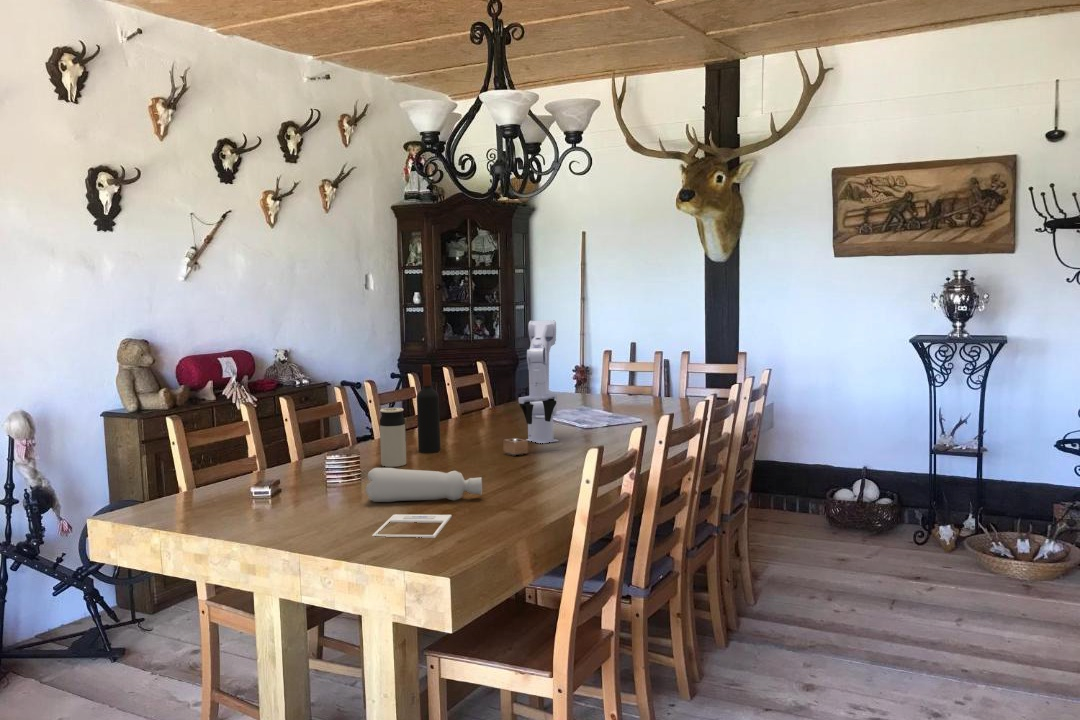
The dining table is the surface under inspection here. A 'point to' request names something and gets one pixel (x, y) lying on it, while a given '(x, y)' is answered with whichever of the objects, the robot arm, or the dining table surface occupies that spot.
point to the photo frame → (418, 519)
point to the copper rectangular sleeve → (515, 446)
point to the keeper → (514, 454)
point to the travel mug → (392, 437)
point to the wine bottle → (428, 415)
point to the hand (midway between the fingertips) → (538, 422)
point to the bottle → (418, 485)
